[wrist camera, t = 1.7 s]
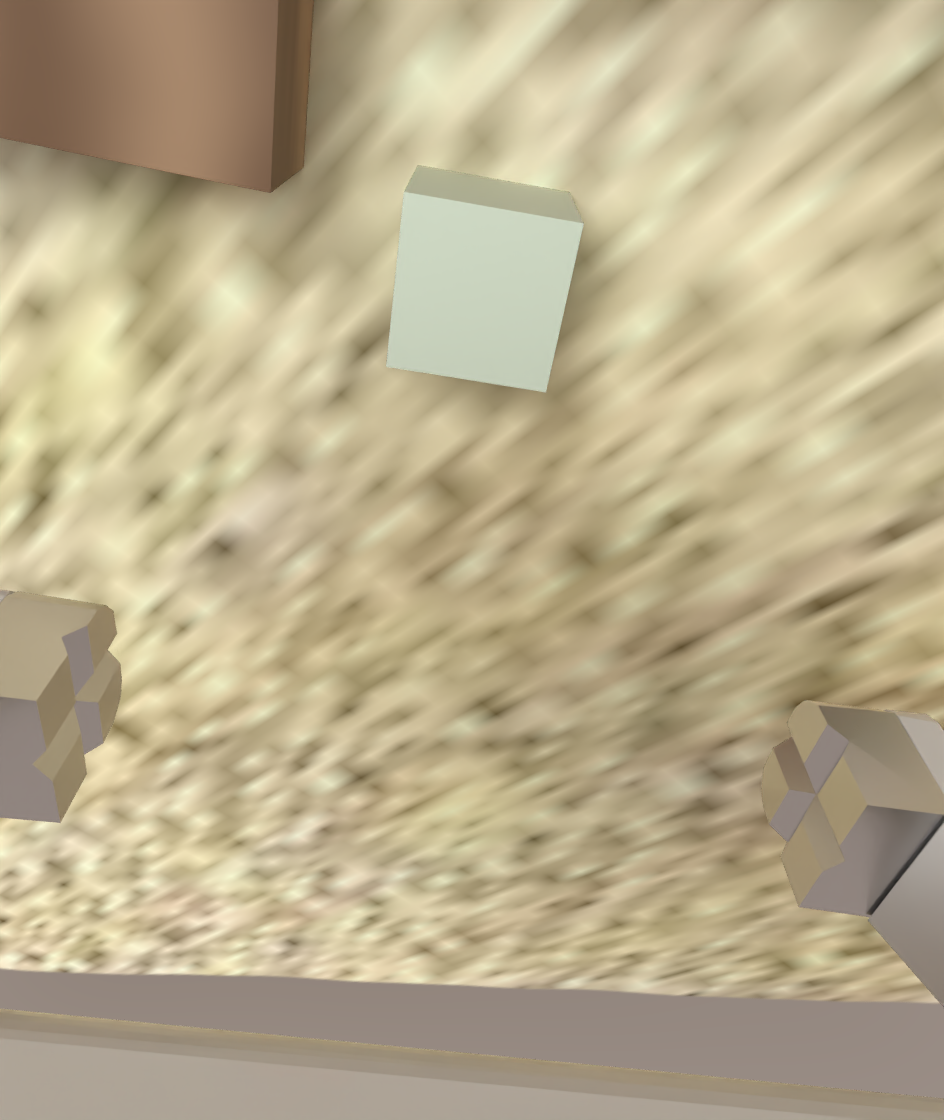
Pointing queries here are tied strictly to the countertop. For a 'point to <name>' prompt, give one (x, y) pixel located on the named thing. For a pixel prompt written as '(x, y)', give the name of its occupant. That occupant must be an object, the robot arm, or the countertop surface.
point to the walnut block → (162, 83)
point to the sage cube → (481, 278)
